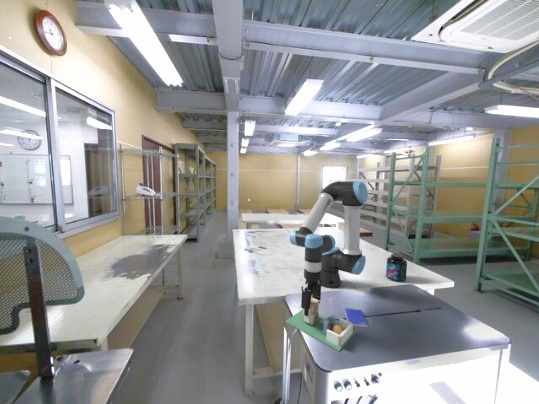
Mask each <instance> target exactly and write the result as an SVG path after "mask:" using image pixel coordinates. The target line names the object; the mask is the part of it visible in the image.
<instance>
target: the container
mask: <svg viewBox="0 0 539 404" xmlns="http://www.w3.org/2000/svg"><path fill="white" fill-rule="evenodd" d="M407 267H408V261H407V260H406V259H405V258H404V255H402V254H399V253H391V254H390V256H388V257H387V259H386V270H385V277H386V278H387V279H388V280H389V281H393V282H396V283H397V282H399V283H402V282H405V281H406V279H407V269H408V268H407Z"/></svg>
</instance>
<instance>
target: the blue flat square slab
mask: <svg viewBox="0 0 539 404" xmlns="http://www.w3.org/2000/svg"><path fill="white" fill-rule="evenodd" d="M344 313H345V317H346V321H348V322H351V323H353V324H354V326H353V327H360V328H361V327H363V328H369V325H368V323H367V320H366V317H365V316H364V313H363V311H362V310H361V309H353V308H344Z"/></svg>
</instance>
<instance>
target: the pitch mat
mask: <svg viewBox="0 0 539 404" xmlns="http://www.w3.org/2000/svg"><path fill="white" fill-rule="evenodd" d="M318 317H320V318H322V319H324V320H326V319H327V318H328V317H326V316H324V315H323V314H319V313H318ZM284 322H285V324H286V323H287V324H288V325H290V326H292V327H293V328H295V329H297V330H299V331H300V332H303V333H305V334H306V335H308V336H310V337H311V338H313V339H314V340H316V341H319V342H320V343H322V344H324V345H326V346H328V347H330V348H331V349H333V350H336V351H337V352H340V351H341V350H342V349H343V348H345V346H346V344H347V343H348V342H349V341H350V339H351V338H353V336H354V335H355V334H356V333H357V330H354V329H353V333H352V335H351V336H350V337H349V338H348V339H347V340H346V341H345V342H344V344H343V345H342V346H341V347H339V346H337V345H335V344H333V343H331V342H329V341H328V340H326V334H325V333H323V326H324V324H323V323H320V322H318V321H317V322H316V323H314V324H313V325H311V324H309V323H307V322H305V321H303V309H301V310H300V311H298V312H297V313H295V314H294V315H293V316H291V317H290V318H288V319H286V320H285V321H284ZM335 325H339V322H336V321H335ZM330 331H332V329H331V330H330ZM343 331H344V330H343V329H342V332H343ZM332 332H333V331H332Z"/></svg>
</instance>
